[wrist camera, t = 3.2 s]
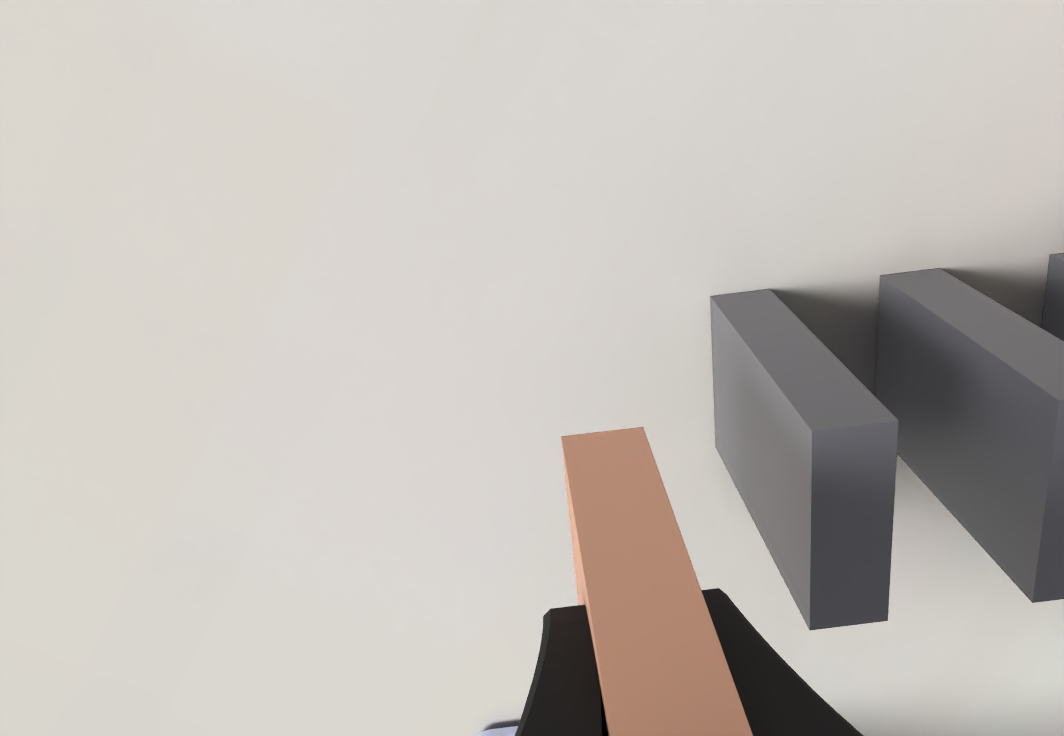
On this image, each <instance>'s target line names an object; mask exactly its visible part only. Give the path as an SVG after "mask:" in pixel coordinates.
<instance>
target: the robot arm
mask: <svg viewBox="0 0 1064 736" xmlns="http://www.w3.org/2000/svg"><path fill="white" fill-rule="evenodd" d="M701 591H702V594H703V597H704V600H705V602H706V605H707V608H708V611H709V614H710V617H711V619H712V622H713V625H714V628H715V631H716V633H717V636H718V639H719V642H720V645H721V647H722V650H723V653H724V656H725V659H726V661H727V664H728V667H729V670H730V673H731V675H732V678H733V681H734V684H735V687H736V690H737V692H738V695H739V698H740V701H741V704H742V706H743V709H744V712H745V715H746V718H747V720H748V723H749V726H750V729H751V732H752V734H753V736H863V735H862V734H861V733H860V732H859V731H857V730H856V729H855V728H854V727H853V726H852V725H851V724H850V723H848V722H847V721H846V720H845V719H844V718H843V717H842V716H841V715H840V714H838V713H837V712H836V711H835V710H834V709H833V708H832V707H831V706H830V705H829V704H827V703H826V702H825V701H824V700H823V699H822V698H821V697H820V696H819V695H818V694H817V693H816V692H815V691H814V690H813V689H812V688H811V687H810V686H809V685H808V684H807V683H806V682H805V681H804V680H803V679H802V678H801V677H800V676H799V675H798V674H797V673H796V672H795V671H794V670H793V669H792V668H791V667H790V666H789V665H788V664H787V663H786V662H785V661H784V660H783V659H782V658H781V657H780V656H779V655H778V654H777V653H776V652H775V650H774V649H773V648H772V647H771V646H770V645H769V644H768V643H767V642H766V641H765V639H764V638H763V637H762V636H761V635H760V634H759V633H758V632H757V631H756V629H755V628H754V627H753V626H752V625H751V624H750V623H749V621H748V620H747V619H746V618H745V617H744V615H743V614H742V613H741V612H740V611H739V609H738V608H737V607H736V606H735V605H734V603H733V602H732V601H731V600H730V598H729V597H728V596H727V594H725V593H724V592H723V591H721V590H720V589H719V588H717V589H709V590H701ZM477 736H605V728H604V718H603V708H602V698H601V688H600V681H599V675H598V669H597V664H596V658H595V652H594V647H593V641H592V636H591V630H590V625H589V620H588V615H587V610H586V605H578V606H570V607H562V608H554V609H550V610H549V611H548V612H547V613H546V614H545V615H544V616H543V633H542V641H541V646H540V652H539V657H538V661H537V665H536V669H535V673H534V677H533V681H532V684H531V687H530V691H529V694H528V697H527V701H526V704H525V707H524V711H523V714H522V717H521V720H520V723H519V726H513V727H505V728H497V729H489V730H485V731H482V732H481V733H479V734H478V735H477Z"/></svg>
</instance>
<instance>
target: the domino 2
mask: <svg viewBox="0 0 1064 736" xmlns="http://www.w3.org/2000/svg"><path fill="white" fill-rule="evenodd" d="M710 305H711V332H712V360H713V388H714V416H715V443H716V449H717V451H718V453H719V454H720V456H721V458H722V460H723V462H724V464H725V466H726V468H727V470H728V472H729V474H730V476H731V478H732V480H733V482H734V484H735V486H736V488H737V490H738V492H739V493H740V495H741V497H742V499H743V501H744V503H745V505H746V507H747V509H748V511H749V513H750V515H751V517H752V519H753V521H754V523H755V525H756V527H757V529H758V531H759V532H760V534H761V536H762V538H763V540H764V542H765V544H766V546H767V548H768V550H769V552H770V554H771V556H772V558H773V560H774V562H775V564H776V566H777V568H778V569H779V571H780V573H781V575H782V577H783V579H784V581H785V583H786V585H787V587H788V589H789V591H790V593H791V595H792V597H793V599H794V601H795V603H796V605H797V607H798V608H799V610H800V612H801V614H802V616H803V618H804V620H805V622H806V624H807V626H808V628H809V630H816V629H824V628H832V627H840V626H849V625H857V624H865V623H873V622H881V621H888V605H889V586H890V568H891V549H892V531H893V513H894V494H895V476H896V457H897V439H898V421H899V420H898V419H897V418H896V417H895V416H894V415H893V414H892V413H891V412H890V411H889V410H888V409H887V408H886V407H885V406H884V405H883V404H882V403H881V402H880V401H879V400H878V399H877V398H876V397H875V396H874V395H873V394H872V393H871V392H870V391H869V390H868V389H867V388H866V387H865V386H864V385H863V384H862V383H861V382H860V381H859V380H858V379H857V378H856V377H855V376H854V375H853V374H852V373H851V372H850V370H849V369H848V368H847V367H846V366H845V365H844V364H843V363H842V362H841V361H840V360H839V359H838V358H837V357H836V356H835V355H834V354H833V353H832V352H831V351H830V350H829V349H828V348H827V347H826V346H825V345H824V344H823V343H822V342H821V341H820V340H819V339H818V338H817V337H816V336H815V335H814V334H813V333H812V332H811V331H810V330H809V329H808V328H807V327H806V326H805V325H804V324H803V323H802V322H801V320H800V319H799V318H798V317H797V316H796V315H795V314H794V313H793V312H792V311H791V310H790V309H789V308H788V307H787V306H786V305H785V304H784V303H783V302H782V301H781V300H780V299H779V298H778V297H777V296H776V295H775V294H774V293H773V292H772V291H771V290H770V289H765V290H757V291H749V292H741V293H733V294H725V295H717V296H710Z"/></svg>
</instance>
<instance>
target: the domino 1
mask: <svg viewBox="0 0 1064 736" xmlns="http://www.w3.org/2000/svg"><path fill="white" fill-rule="evenodd" d="M561 439H562V448H563V458H564V468H565V477H566V487H567V497H568V507H569V516H570V526H571V536H572V545H573V555H574V565H575V574H576V584H577V594H578V604H579V605H586V610H587V615H588V620H589V625H590V630H591V636H592V641H593V647H594V652H595V658H596V664H597V669H598V675H599V681H600V688H601V698H602V708H603V718H604V728H605V736H753V734H752V732H751V729H750V726H749V723H748V720H747V718H746V715H745V712H744V709H743V706H742V704H741V701H740V698H739V695H738V692H737V690H736V687H735V684H734V681H733V678H732V675H731V673H730V670H729V667H728V664H727V661H726V659H725V656H724V653H723V650H722V647H721V645H720V642H719V639H718V636H717V633H716V631H715V628H714V625H713V622H712V619H711V617H710V614H709V611H708V608H707V605H706V602H705V600H704V597H703V594H702V591H701V588H700V586H699V583H698V580H697V577H696V574H695V572H694V569H693V566H692V563H691V560H690V558H689V555H688V552H687V549H686V546H685V543H684V541H683V538H682V535H681V532H680V529H679V527H678V524H677V521H676V518H675V515H674V513H673V510H672V507H671V504H670V501H669V499H668V496H667V493H666V490H665V487H664V484H663V482H662V479H661V476H660V473H659V470H658V468H657V465H656V462H655V459H654V456H653V454H652V451H651V448H650V445H649V442H648V440H647V437H646V434H645V431H644V428H643V427H638V428H630V429H621V430H612V431H604V432H595V433H586V434H578V435H569V436H561Z"/></svg>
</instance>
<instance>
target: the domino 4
mask: <svg viewBox="0 0 1064 736" xmlns="http://www.w3.org/2000/svg"><path fill="white" fill-rule="evenodd" d="M1041 328H1042V329H1043V330H1045V331H1047V332H1049V333H1050V334H1052V335H1054V336H1055V337H1057V338H1059V339H1060V340H1062V341H1064V253H1059V254H1051V255H1050V258H1049V266H1048V274H1047V283H1046V291H1045V300H1044V308H1043V317H1042V325H1041Z"/></svg>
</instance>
